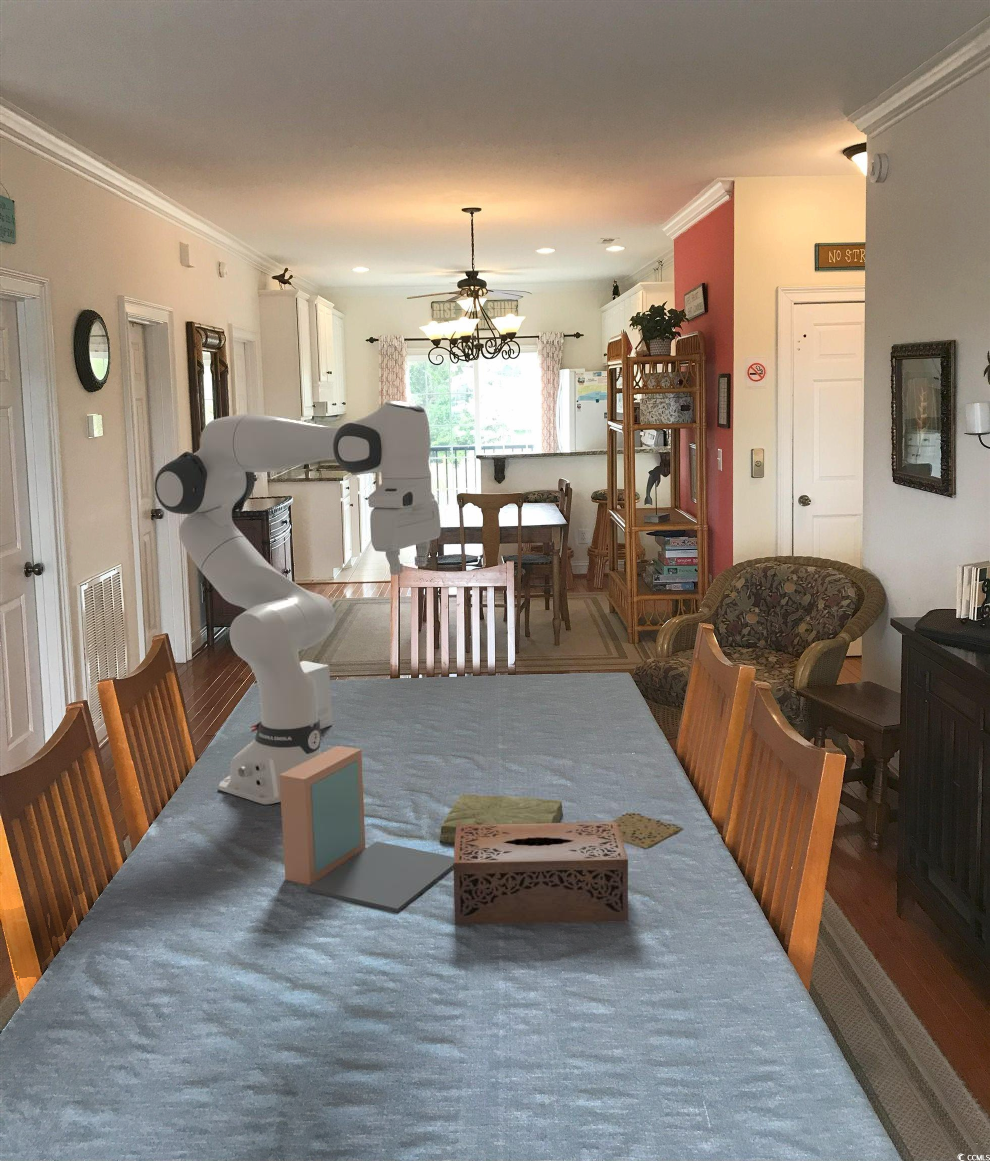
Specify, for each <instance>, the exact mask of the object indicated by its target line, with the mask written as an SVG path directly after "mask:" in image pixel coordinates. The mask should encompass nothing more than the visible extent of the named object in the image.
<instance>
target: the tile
mask: <svg viewBox="0 0 990 1161" xmlns="http://www.w3.org/2000/svg"><path fill="white" fill-rule="evenodd" d="M279 778H280V796H281V802H280V808H281V809H280V810H281V813H280V814H281V825H282V826H281V828H282V845H283V860H284V861H283V864H284V880H286V881H289V882H295V883H299V884H303V885H307V886H311V885H312V884H314V883H315V882H317V881H318V880H320V879H321V878H323V877H324V876H326V875H327V874H329V873H330V872H332V871H333V870H335V869H336V868H337V867H339V866H340V865H342V864H343V863H345V862H346V861H348V860H349V859H351V858H352V857H354V856H355V855H357V854H358V853H360V852H361V851H363V850H364V849H366V829H365V828H366V827H365V825H366V824H365V805H364V804H365V803H364V784H363V783H364V782H363V778H364V777H363V760H362V749H361V748H354V747H347V746H342V745H336V746H334V747H332V748H330V749H328V750H326V751H324V752H321V754H320V755H318V756H316V757H314V758H312V759H310V760H308V761H306V762H304V763H302V764H300V765H298V766H296V767H294V768H292V769H290V770H288V771H286V772H284V773H282V774H280V775H279Z"/></svg>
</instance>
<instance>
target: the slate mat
mask: <svg viewBox="0 0 990 1161" xmlns="http://www.w3.org/2000/svg"><path fill="white" fill-rule="evenodd" d="M453 860H454V856H451V855H446V854H445V855H444V854H440V853H438V852H437V853H435V852H431V851H426V850H420V849H417V848H413V847H412V848H410V847H408V846H402V845H397V844H390V843H386V842H381V841H378V840H377V841H375V842H373V843H372V844H370V845H369V846H368V847H365V849H363V850H362V851H360V852H359V853H358V854H356V855H355V856H353V857H352V858H350V859H349V860H347V861H346V862H344V863H343V864H341V865H340V866H338V867H337V868H335V869H334V870H332V871H331V872H329V873H328V874H326V875H325V876H323V877H322V878H320V879H319V880H317V881H316V882H314V883H313V884H311V885H308V887H307V892H310V893H313V894H317V895H318V894H319V895H322V896H327V897H331V898H335V899H338V900H343V901H347V902H351V903H355V904H361V905H365V906H368V907H374V908H378V909H381V910H386V911H391V912H395V913H399V912H400V911H402V909H404V908H406V906H408V905H409V904H410V903H411V902H413V901H414V900H415V899H416V898H418V897H419V896H420V895H421V894H422V893H424V892H425V891H426V890H428V889H429V888H430V887H431V886H433V885H434V884H435V883H437V882H438V881H439V880H441V878H443V877H444V876H445V875H446V874H448V873H449V872H450V871H452V869H453Z"/></svg>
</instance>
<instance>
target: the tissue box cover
mask: <svg viewBox="0 0 990 1161" xmlns="http://www.w3.org/2000/svg"><path fill="white" fill-rule="evenodd" d="M453 849H454V851H453V857H454V860H453V897H454V898H453V900H454V901H453V902H454V903H453V904H454V905H453V906H454V925H455V926H461V925H466V926H467V925H470V926H471V925H511V924H512V925H514V924H553V923H554V924H555V923H556V924H560V923H598V922H599V923H600V922H601V923H603V922H604V923H605V922H608V923H609V922H629V858H628V856H627V851H626V847H625V846H624V842H623V841H622V838H621V834H620V831H619V828H618V824H617V822H612V821H585V822H559V823H527V824H478V825H456V834H455V842H454V848H453Z"/></svg>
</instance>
